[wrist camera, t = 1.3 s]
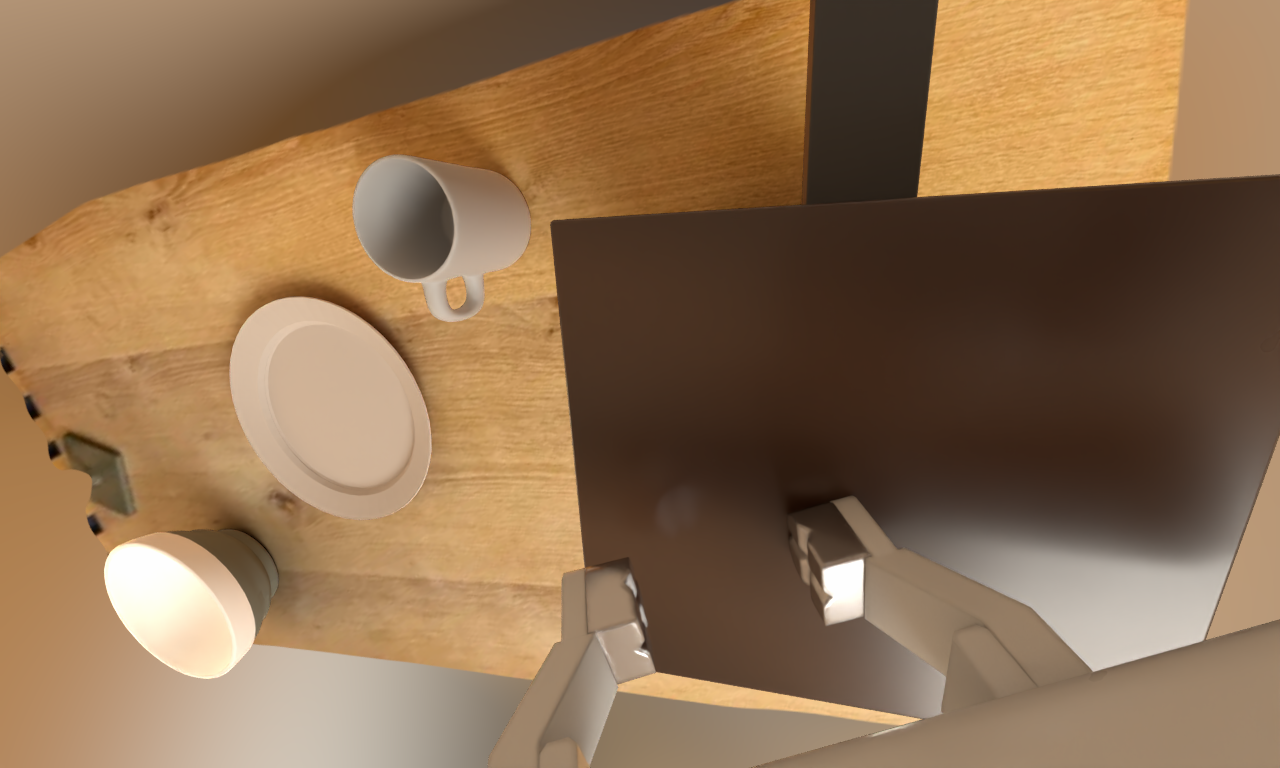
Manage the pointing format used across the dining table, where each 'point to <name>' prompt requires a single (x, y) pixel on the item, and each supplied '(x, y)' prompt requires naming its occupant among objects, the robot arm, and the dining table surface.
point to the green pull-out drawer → (866, 98)
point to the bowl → (193, 596)
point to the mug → (440, 226)
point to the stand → (925, 413)
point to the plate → (330, 408)
